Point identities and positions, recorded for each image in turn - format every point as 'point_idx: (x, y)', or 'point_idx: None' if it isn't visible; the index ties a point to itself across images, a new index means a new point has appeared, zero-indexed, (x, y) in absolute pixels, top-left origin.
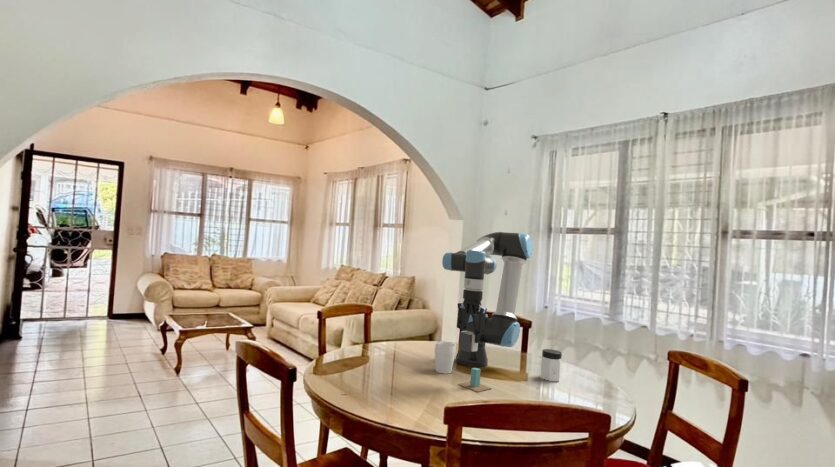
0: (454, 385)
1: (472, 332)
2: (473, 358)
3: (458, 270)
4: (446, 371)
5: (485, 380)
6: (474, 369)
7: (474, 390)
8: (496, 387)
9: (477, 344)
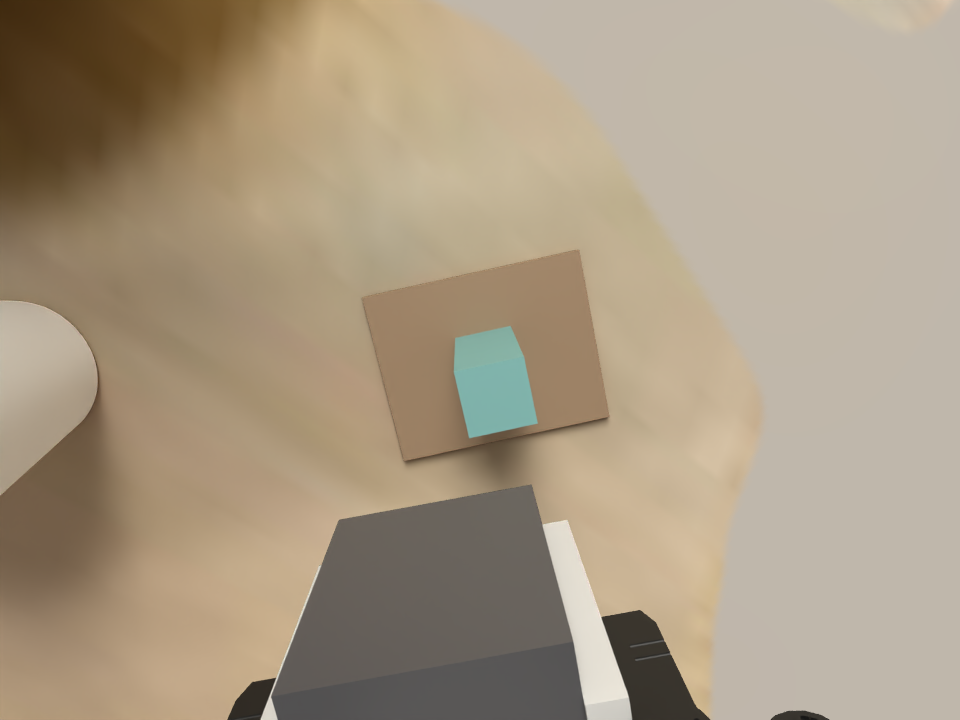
0: (411, 494)
1: (394, 692)
2: None
3: None
4: (89, 392)
5: (347, 127)
6: (511, 428)
7: (574, 422)
8: (550, 164)
9: (586, 579)
